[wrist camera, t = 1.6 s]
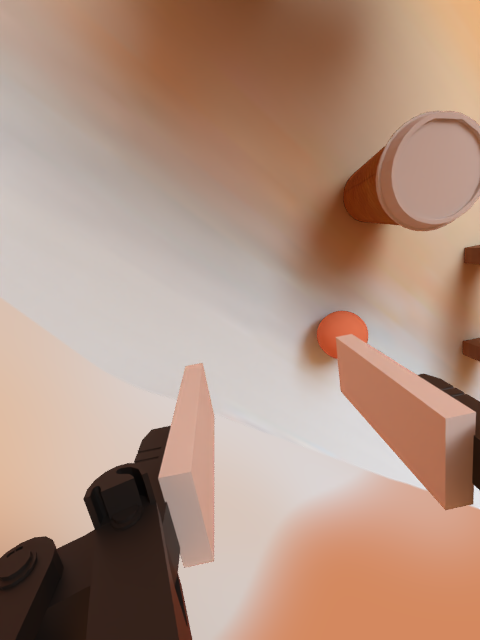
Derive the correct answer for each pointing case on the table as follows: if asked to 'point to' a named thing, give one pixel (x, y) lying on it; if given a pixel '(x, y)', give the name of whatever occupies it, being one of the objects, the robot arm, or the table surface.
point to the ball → (339, 330)
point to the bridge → (476, 347)
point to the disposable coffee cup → (420, 174)
